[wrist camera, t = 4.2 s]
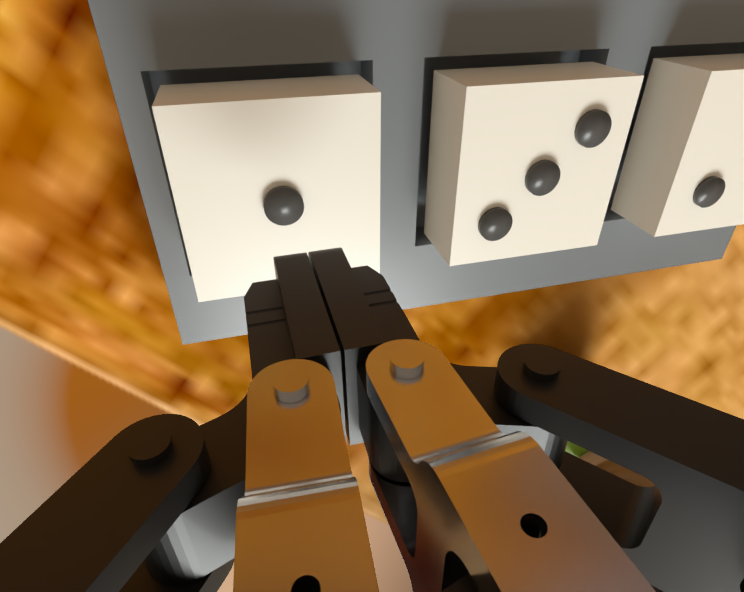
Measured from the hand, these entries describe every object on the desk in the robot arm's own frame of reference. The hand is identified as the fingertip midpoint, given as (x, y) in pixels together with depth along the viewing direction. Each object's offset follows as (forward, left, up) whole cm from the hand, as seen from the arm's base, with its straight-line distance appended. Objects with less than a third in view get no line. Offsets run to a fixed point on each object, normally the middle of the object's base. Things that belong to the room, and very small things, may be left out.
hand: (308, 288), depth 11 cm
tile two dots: (-1, +16, -6) cm, 17 cm away
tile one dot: (-1, 0, -6) cm, 6 cm away
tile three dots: (-1, +8, -6) cm, 10 cm away
